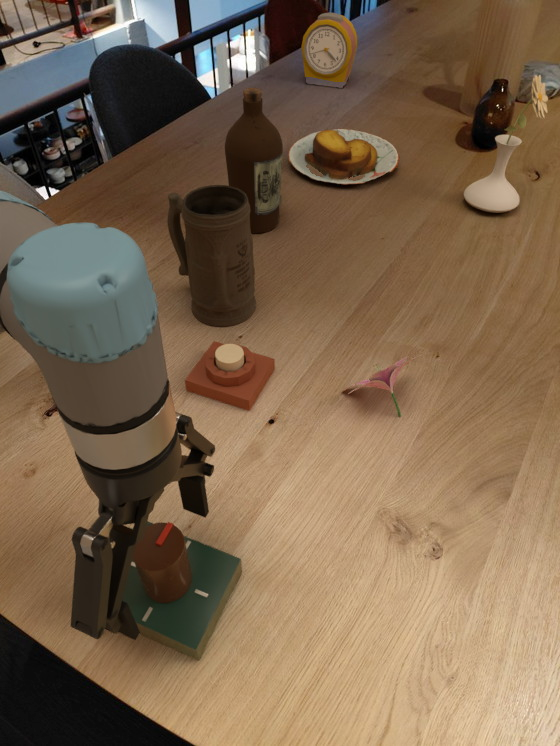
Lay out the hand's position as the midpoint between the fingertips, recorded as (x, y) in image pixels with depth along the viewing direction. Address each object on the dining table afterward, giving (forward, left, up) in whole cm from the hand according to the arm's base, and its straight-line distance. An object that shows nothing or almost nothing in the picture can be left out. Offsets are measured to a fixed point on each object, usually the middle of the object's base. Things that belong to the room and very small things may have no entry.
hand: (163, 566), depth 57 cm
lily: (+13, +36, -6) cm, 39 cm away
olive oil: (-23, +73, -6) cm, 77 cm away
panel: (0, 0, -6) cm, 6 cm away
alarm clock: (-36, +156, -6) cm, 160 cm away
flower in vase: (+20, +100, -6) cm, 102 cm away
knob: (0, 0, -3) cm, 3 cm away
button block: (-8, +31, -6) cm, 32 cm away
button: (-8, +31, -2) cm, 32 cm away
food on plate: (-15, +105, -6) cm, 106 cm away
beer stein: (-19, +46, -6) cm, 50 cm away
